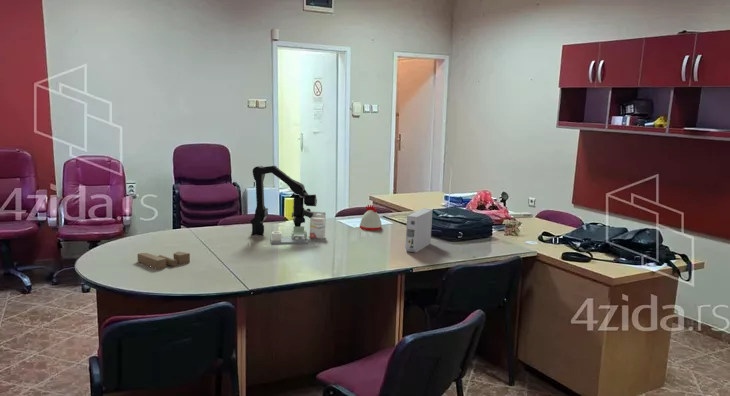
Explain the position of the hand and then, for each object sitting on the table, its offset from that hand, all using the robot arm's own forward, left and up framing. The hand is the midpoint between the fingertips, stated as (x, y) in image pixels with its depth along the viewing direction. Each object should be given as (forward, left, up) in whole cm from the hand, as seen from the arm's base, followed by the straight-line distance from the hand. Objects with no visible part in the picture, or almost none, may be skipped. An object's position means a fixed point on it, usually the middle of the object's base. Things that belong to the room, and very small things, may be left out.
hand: (297, 231), depth 317 cm
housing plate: (-6, -12, -3) cm, 13 cm away
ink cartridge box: (+11, -4, -3) cm, 12 cm away
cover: (0, -8, -1) cm, 8 cm away
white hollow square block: (-13, -13, -2) cm, 18 cm away
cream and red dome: (+48, +20, -3) cm, 52 cm away
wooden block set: (-67, -51, -3) cm, 84 cm away
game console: (+64, -31, -3) cm, 71 cm away
